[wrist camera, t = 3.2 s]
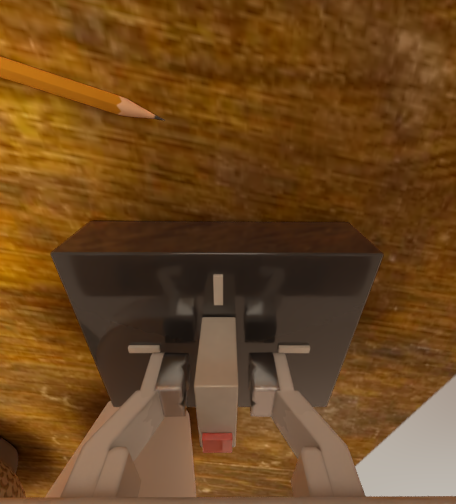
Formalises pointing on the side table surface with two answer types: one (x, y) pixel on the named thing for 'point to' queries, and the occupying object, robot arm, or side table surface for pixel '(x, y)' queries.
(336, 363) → the switch housing
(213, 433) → the stove knob
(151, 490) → the pale flower pot
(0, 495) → the planter
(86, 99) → the pencil
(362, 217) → the side table surface
